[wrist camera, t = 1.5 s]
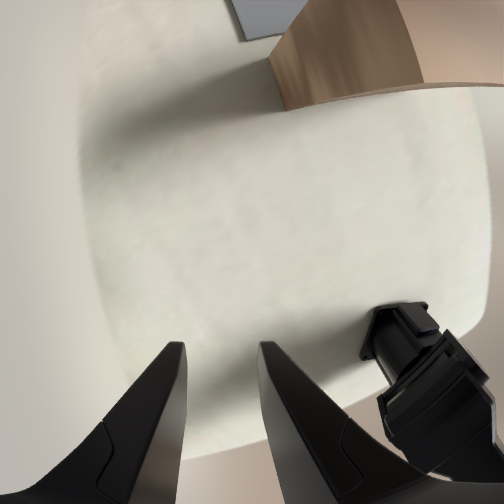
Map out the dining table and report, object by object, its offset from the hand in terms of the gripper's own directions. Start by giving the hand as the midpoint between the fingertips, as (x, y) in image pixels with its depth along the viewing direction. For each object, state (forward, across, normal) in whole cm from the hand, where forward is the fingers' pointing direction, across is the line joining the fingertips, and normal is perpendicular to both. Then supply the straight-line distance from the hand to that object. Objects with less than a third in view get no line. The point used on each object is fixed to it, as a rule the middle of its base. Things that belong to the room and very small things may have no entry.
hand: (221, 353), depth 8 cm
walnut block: (+13, -8, -11) cm, 19 cm away
